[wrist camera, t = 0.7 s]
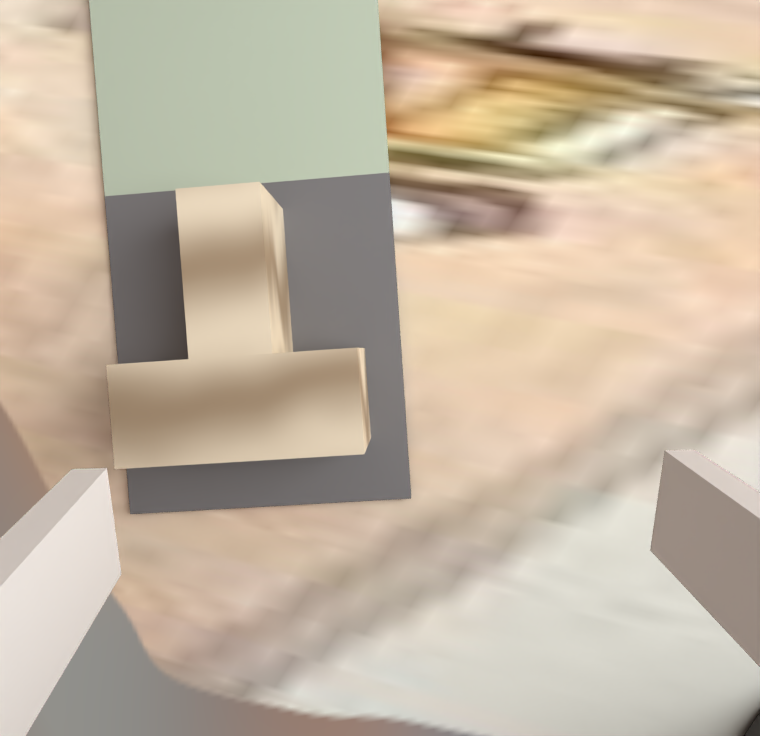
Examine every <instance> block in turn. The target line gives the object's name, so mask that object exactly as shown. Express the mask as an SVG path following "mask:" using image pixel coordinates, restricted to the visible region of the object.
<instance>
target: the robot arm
mask: <svg viewBox="0 0 760 736" xmlns="http://www.w3.org/2000/svg"><path fill="white" fill-rule="evenodd" d="M650 551H651V552H652V553H653V554H654V555H655V556H656V557H657V558H658V559H659V560H660V561H661V562H662V563H663V564H664V565H665V567H666V568H667V569H668V570H669V571H670V572H671V573H672V574H673V575H674V576H675V577H676V578H677V579H678V580H679V581H680V582H681V584H682V585H683V586H684V587H685V588H686V589H687V590H688V591H689V592H690V593H691V594H692V595H693V596H694V597H695V598H696V600H697V601H698V602H699V603H700V604H701V605H702V606H703V607H704V608H705V609H706V610H707V611H708V612H709V613H710V614H711V615H712V617H713V618H714V619H715V620H716V621H717V622H718V623H719V624H720V625H721V626H722V627H723V628H724V629H725V630H726V631H727V633H728V634H729V635H730V636H731V637H732V638H733V639H734V640H735V641H736V642H737V643H738V644H739V645H740V646H741V647H742V648H743V650H744V651H745V652H746V653H747V654H748V655H749V656H750V657H751V658H752V659H753V660H754V661H755V662H756V663H757V664H758V666H759V667H760V492H759V491H757V490H756V489H754V488H753V487H751V486H750V485H748V484H747V483H745V482H744V481H742V480H741V479H739V478H738V477H736V476H734V475H733V474H731V473H730V472H728V471H727V470H725V469H724V468H722V467H721V466H719V465H718V464H716V463H715V462H713V461H712V460H710V459H708V458H707V457H705V456H704V455H702V454H701V453H699V452H698V451H696V450H665V451H664V458H663V465H662V472H661V479H660V486H659V493H658V500H657V507H656V514H655V521H654V528H653V535H652V542H651V549H650ZM120 576H121V567H120V560H119V553H118V545H117V538H116V531H115V523H114V516H113V509H112V502H111V494H110V487H109V480H108V472H107V468H89V469H71V470H70V471H69V472H68V473H67V474H66V475H65V476H64V477H63V478H62V479H61V480H60V481H59V482H58V483H57V484H56V485H55V486H54V487H53V488H52V489H51V490H50V491H49V492H47V493H46V495H44V497H42V498H41V499H40V500H39V501H38V502H37V503H36V504H35V505H34V506H33V507H32V508H31V509H30V510H29V511H28V512H27V513H26V514H25V515H24V516H23V517H22V518H21V519H20V520H19V521H18V522H17V523H16V524H15V525H14V526H12V527H11V528H10V529H9V530H8V531H7V532H6V533H5V534H4V535H3V536H2V537H1V538H0V736H26V734H27V733H28V731H29V729H30V728H31V726H32V724H33V723H34V721H35V719H36V717H37V716H38V714H39V712H40V711H41V709H42V707H43V706H44V704H45V702H46V701H47V699H48V697H49V696H50V694H51V692H52V690H53V689H54V687H55V685H56V684H57V682H58V680H59V679H60V677H61V675H62V673H63V672H64V670H65V668H66V667H67V665H68V663H69V662H70V660H71V658H72V657H73V655H74V653H75V652H76V650H77V648H78V647H79V645H80V643H81V641H82V640H83V638H84V636H85V635H86V633H87V631H88V630H89V628H90V626H91V625H92V623H93V621H94V619H95V618H96V616H97V614H98V613H99V611H100V609H101V608H102V606H103V604H104V603H105V601H106V599H107V598H108V596H109V594H110V593H111V591H112V589H113V587H114V586H115V584H116V582H117V581H118V579H119V577H120ZM745 736H760V714H759V715H758V717H757V718H756V719H755V720H754V722H753V723H752V725H751V726H750V728H749V729H748V731H747V733H746V735H745Z"/></svg>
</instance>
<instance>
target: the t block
mask: <svg viewBox="0 0 760 736" xmlns="http://www.w3.org/2000/svg"><path fill="white" fill-rule="evenodd" d="M175 191H176V204H177V217H178V230H179V243H180V256H181V269H182V282H183V295H184V308H185V321H186V334H187V347H188V359H184V360H169V361H155V362H140V363H126V364H111V365H106V372H107V384H108V396H109V409H110V421H111V433H112V446H113V458H114V469H127V468H144V467H161V466H177V465H194V464H211V463H227V462H244V461H261V460H277V459H294V458H311V457H327V456H344V455H361V454H365V452H366V449H367V447H368V444H369V442H370V439H371V431H370V416H369V402H368V387H367V373H366V358H365V348H343V349H329V350H314V351H300V352H293V342H292V328H291V314H290V300H289V286H288V273H287V259H286V245H285V231H284V217H283V208H282V207H281V206H280V205H279V204H278V203H277V201H276V200H275V199H274V198H273V197H272V196H271V194H270V193H269V192H268V191H267V190H266V189H265V187H264V186H263V185H262V184H261V183H260V182H250V183H238V184H226V185H214V186H202V187H190V188H178V189H175Z"/></svg>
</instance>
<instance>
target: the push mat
mask: <svg viewBox="0 0 760 736" xmlns="http://www.w3.org/2000/svg"><path fill="white" fill-rule="evenodd" d="M89 7H90V19H91V31H92V44H93V56H94V69H95V81H96V94H97V106H98V119H99V131H100V143H101V156H102V168H103V181H104V193H105V206H106V218H107V231H108V243H109V255H110V268H111V280H112V293H113V305H114V318H115V330H116V343H117V355H118V364H126V363H140V362H155V361H169V360H184V359H188V347H187V334H186V321H185V308H184V295H183V282H182V269H181V256H180V243H179V230H178V217H177V204H176V191H175V189H178V188H190V187H202V186H214V185H226V184H238V183H250V182H260V183H261V184H262V185H263V186H264V187H265V189H266V190H267V191H268V192H269V193H270V194H271V196H272V197H273V198H274V199H275V200H276V201H277V203H278V204H279V205H280V206H281V207H282V208H283V217H284V231H285V245H286V259H287V273H288V286H289V300H290V314H291V328H292V342H293V352H300V351H314V350H329V349H343V348H365V358H366V373H367V387H368V402H369V416H370V431H371V439H370V442H369V444H368V447H367V449H366V452H365V454H361V455H344V456H327V457H311V458H294V459H277V460H261V461H244V462H227V463H211V464H194V465H177V466H161V467H144V468H127V479H128V492H129V504H130V514H142V513H159V512H177V511H195V510H213V509H231V508H249V507H266V506H284V505H302V504H320V503H338V502H355V501H373V500H391V499H409V498H411V488H410V473H409V458H408V443H407V428H406V413H405V399H404V384H403V369H402V354H401V339H400V324H399V310H398V295H397V280H396V265H395V250H394V235H393V221H392V206H391V191H390V176H389V161H388V146H387V132H386V117H385V102H384V87H383V72H382V57H381V43H380V28H379V13H378V0H89Z"/></svg>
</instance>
